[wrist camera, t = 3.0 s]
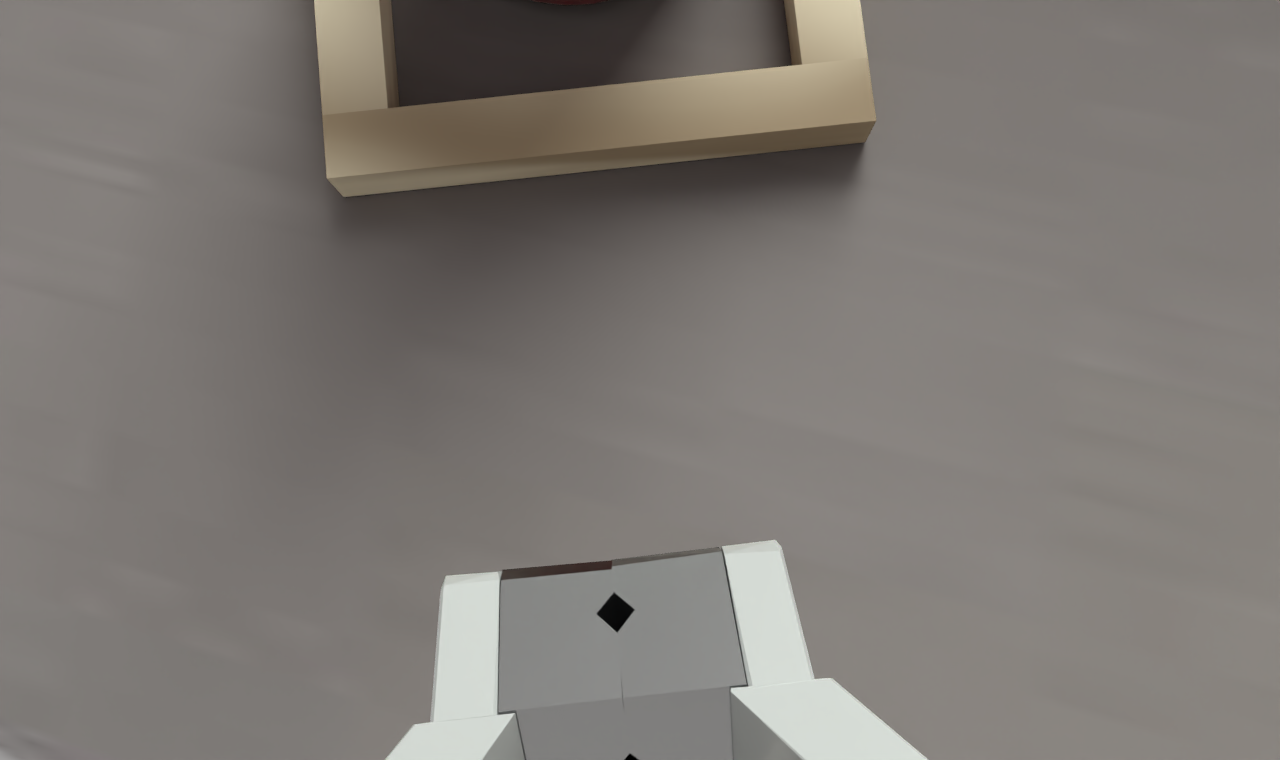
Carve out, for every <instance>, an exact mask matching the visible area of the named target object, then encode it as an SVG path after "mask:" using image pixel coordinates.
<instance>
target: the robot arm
mask: <svg viewBox="0 0 1280 760" xmlns="http://www.w3.org/2000/svg"><path fill="white" fill-rule="evenodd" d="M385 760H928V759H927V758H926V757H925V756H923V755H922V754H921V753H920V752H919V751H917V750H916V749H915V748H914V747H913V746H912V745H910V744H909V743H908V742H907V741H906V740H904V739H903V738H902V737H901V736H900V735H899V734H897V733H896V732H895V731H894V730H893V729H891V728H890V727H889V726H888V725H887V724H886V723H884V722H883V721H882V720H881V719H880V718H878V717H877V716H876V715H875V714H874V713H873V712H871V711H870V710H869V709H868V708H867V707H865V706H864V705H863V704H862V703H861V702H860V701H858V700H857V699H856V698H855V697H854V696H852V695H851V694H850V693H849V692H848V691H847V690H845V689H844V688H843V687H842V686H841V685H839V684H838V683H837V682H836V681H835V680H834V679H832V678H823V679H814V675H813V671H812V667H811V663H810V659H809V655H808V651H807V647H806V643H805V639H804V635H803V631H802V627H801V623H800V619H799V615H798V611H797V607H796V603H795V599H794V595H793V591H792V587H791V583H790V579H789V575H788V571H787V567H786V563H785V559H784V555H783V551H782V547H781V546H780V545H779V544H778V542H777V541H776V540H770V541H762V542H753V543H745V544H737V545H729V546H722V547H721V549H720V548H719V547H715V548H707V549H699V550H690V551H682V552H673V553H665V554H657V555H648V556H640V557H631V558H623V559H615V560H612V561H600V562H588V563H577V564H565V565H553V566H542V567H530V568H519V569H507V570H503V571H501V572H488V573H475V574H462V575H450V576H446V577H445V580H444V582H443V585H442V587H441V592H440V604H439V617H438V630H437V643H436V656H435V669H434V681H433V694H432V707H431V720H430V722H428V723H421V724H414V725H413V726H412V727H411V728H410V729H409V731H408V732H407V733H406V734H405V736H404V737H403V738H402V739H401V740H400V742H399V743H398V744H397V745H396V747H395V748H394V749H393V750H392V751H391V753H390V754H389V755H388V756H387V758H386V759H385Z"/></svg>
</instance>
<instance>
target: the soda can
mask: <svg viewBox="0 0 1280 760" xmlns="http://www.w3.org/2000/svg"><path fill="white" fill-rule="evenodd" d="M531 1H534V2H541V3H549V4H556V5H564V6H567V5H583V4H596V3H600V2H604V1H608V0H531Z"/></svg>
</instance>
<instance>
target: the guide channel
mask: <svg viewBox="0 0 1280 760" xmlns="http://www.w3.org/2000/svg"><path fill="white" fill-rule="evenodd" d="M784 5H785V13H786V21H787V29H788V37H789V45H790V53H791V61H792V66H783V67H774V68H764V69H755V70H745V71H736V72H726V73H717V74H708V75H698V76H689V77H679V78H670V79H660V80H651V81H641V82H632V83H622V84H613V85H603V86H594V87H584V88H575V89H565V90H556V91H546V92H537V93H527V94H518V95H508V96H499V97H490V98H480V99H471V100H461V101H452V102H442V103H433V104H423V105H414V106H404V107H400V106H399V94H398V81H397V69H396V56H395V44H394V31H393V19H392V6H391V0H314V6H315V20H316V34H317V48H318V62H319V77H320V91H321V105H322V119H323V133H324V147H325V161H326V175H327V179H328V180H329V182H330V183H331V184H332V185H333V186H334V187H335V188H336V189H337V190H338V191H339V193H340V194H341V195H342V196H343V197H350V196H360V195H369V194H379V193H388V192H398V191H407V190H417V189H426V188H436V187H445V186H455V185H464V184H474V183H483V182H493V181H502V180H512V179H521V178H531V177H540V176H550V175H559V174H569V173H578V172H588V171H597V170H607V169H616V168H626V167H635V166H645V165H654V164H664V163H673V162H683V161H692V160H702V159H711V158H721V157H730V156H740V155H749V154H759V153H768V152H778V151H787V150H797V149H806V148H816V147H825V146H835V145H844V144H854V143H863V142H866V140H867V138H868V136H869V134H870V132H871V130H872V128H873V126H874V124H875V122H876V116H875V108H874V101H873V93H872V86H871V78H870V71H869V64H868V56H867V49H866V41H865V34H864V26H863V19H862V12H861V4H860V0H784Z"/></svg>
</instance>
